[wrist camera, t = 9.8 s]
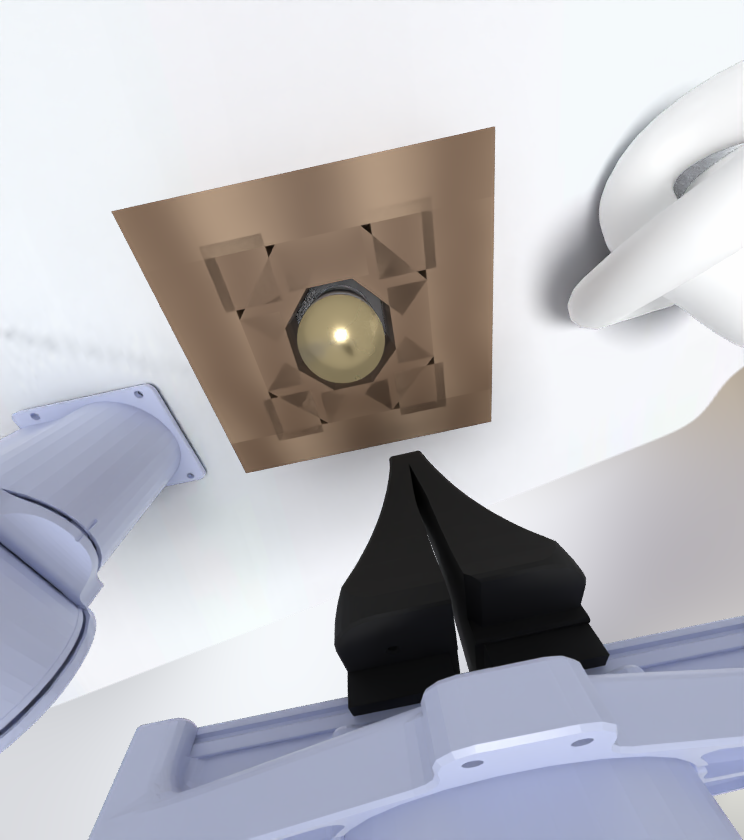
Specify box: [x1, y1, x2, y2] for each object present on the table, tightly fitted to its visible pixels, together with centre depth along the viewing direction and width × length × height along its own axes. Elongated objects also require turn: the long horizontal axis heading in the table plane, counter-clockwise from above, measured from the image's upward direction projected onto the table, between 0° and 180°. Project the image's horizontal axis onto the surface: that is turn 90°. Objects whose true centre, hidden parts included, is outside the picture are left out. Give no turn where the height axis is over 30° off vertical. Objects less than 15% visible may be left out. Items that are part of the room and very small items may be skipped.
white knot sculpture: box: [568, 60, 744, 347], centre depth 14 cm, size 11×12×9 cm
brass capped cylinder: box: [297, 285, 385, 383], centre depth 16 cm, size 4×4×6 cm
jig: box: [111, 127, 495, 473], centre depth 17 cm, size 16×14×4 cm
